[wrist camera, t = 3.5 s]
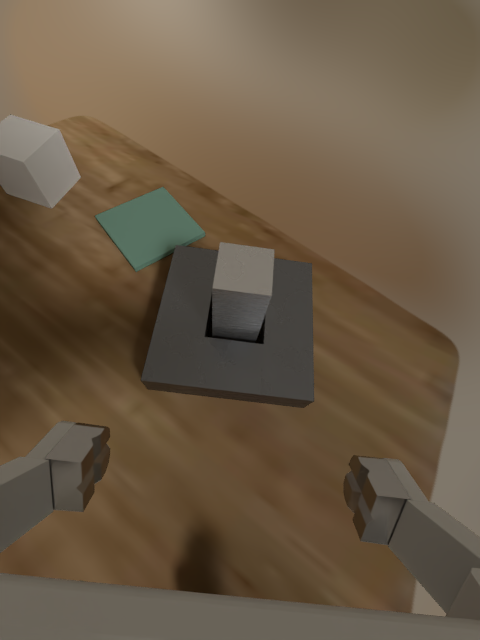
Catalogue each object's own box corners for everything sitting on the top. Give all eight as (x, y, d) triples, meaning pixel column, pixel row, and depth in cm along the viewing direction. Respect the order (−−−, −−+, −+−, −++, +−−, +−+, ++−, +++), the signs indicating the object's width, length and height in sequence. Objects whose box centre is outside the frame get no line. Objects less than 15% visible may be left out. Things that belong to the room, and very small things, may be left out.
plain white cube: (38, 164, 37) (10, 114, 32) (81, 178, 37) (59, 129, 32) (7, 194, 35) (-30, 144, 29) (52, 209, 34) (23, 161, 29)
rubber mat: (135, 271, 31) (134, 268, 31) (96, 219, 34) (94, 215, 33) (205, 236, 34) (204, 232, 34) (163, 190, 37) (163, 186, 36)
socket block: (303, 407, 26) (313, 401, 24) (147, 389, 26) (140, 380, 23) (303, 280, 33) (311, 263, 30) (178, 263, 32) (175, 244, 30)
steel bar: (253, 349, 28) (271, 295, 20) (212, 344, 28) (212, 288, 19) (256, 313, 30) (274, 249, 21) (217, 308, 30) (220, 242, 21)
